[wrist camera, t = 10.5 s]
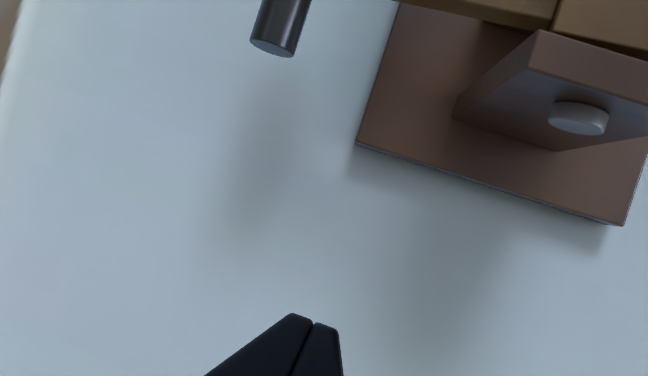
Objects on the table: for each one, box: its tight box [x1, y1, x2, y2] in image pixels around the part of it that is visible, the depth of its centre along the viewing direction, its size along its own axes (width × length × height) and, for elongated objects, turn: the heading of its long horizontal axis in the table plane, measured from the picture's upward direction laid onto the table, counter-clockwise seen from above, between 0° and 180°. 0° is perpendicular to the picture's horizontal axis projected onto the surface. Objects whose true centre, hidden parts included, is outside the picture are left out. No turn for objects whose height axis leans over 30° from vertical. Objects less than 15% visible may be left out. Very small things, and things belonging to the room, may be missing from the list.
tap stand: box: [355, 2, 648, 227], centre depth 16 cm, size 11×9×9 cm
